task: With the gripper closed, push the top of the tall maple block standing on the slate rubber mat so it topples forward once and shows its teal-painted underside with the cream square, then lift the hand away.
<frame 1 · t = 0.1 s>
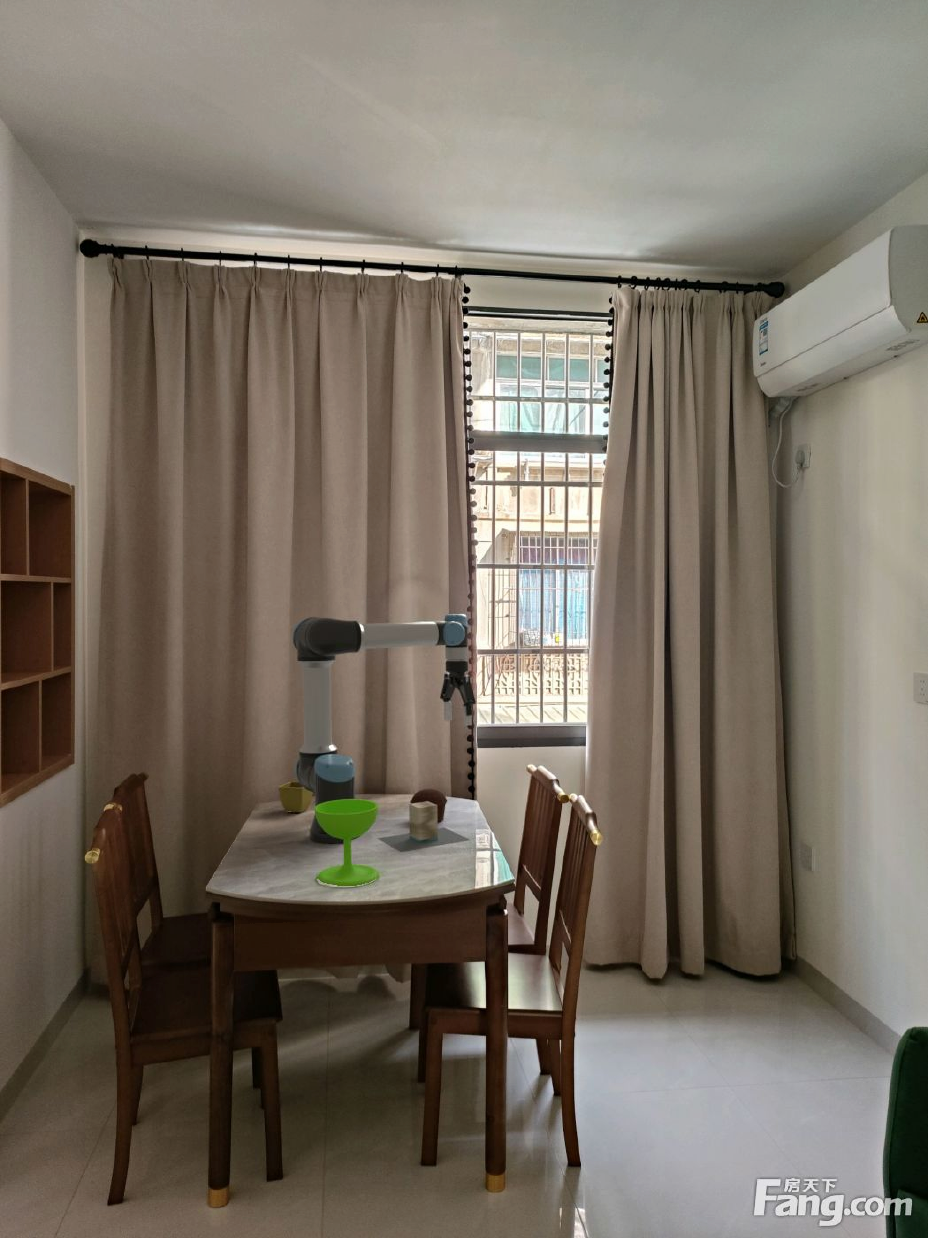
hand: (457, 723, 290), 28 cm above the table, tool pointing down, fingers open, 13 cm apart
maple block: (423, 839, 249), point 1 cm above the table, touching slate mat
flower pot: (296, 812, 286), on the table
muffin: (429, 822, 270), on the table
slate mat: (423, 840, 249), on the table
wineglass: (348, 878, 217), on the table
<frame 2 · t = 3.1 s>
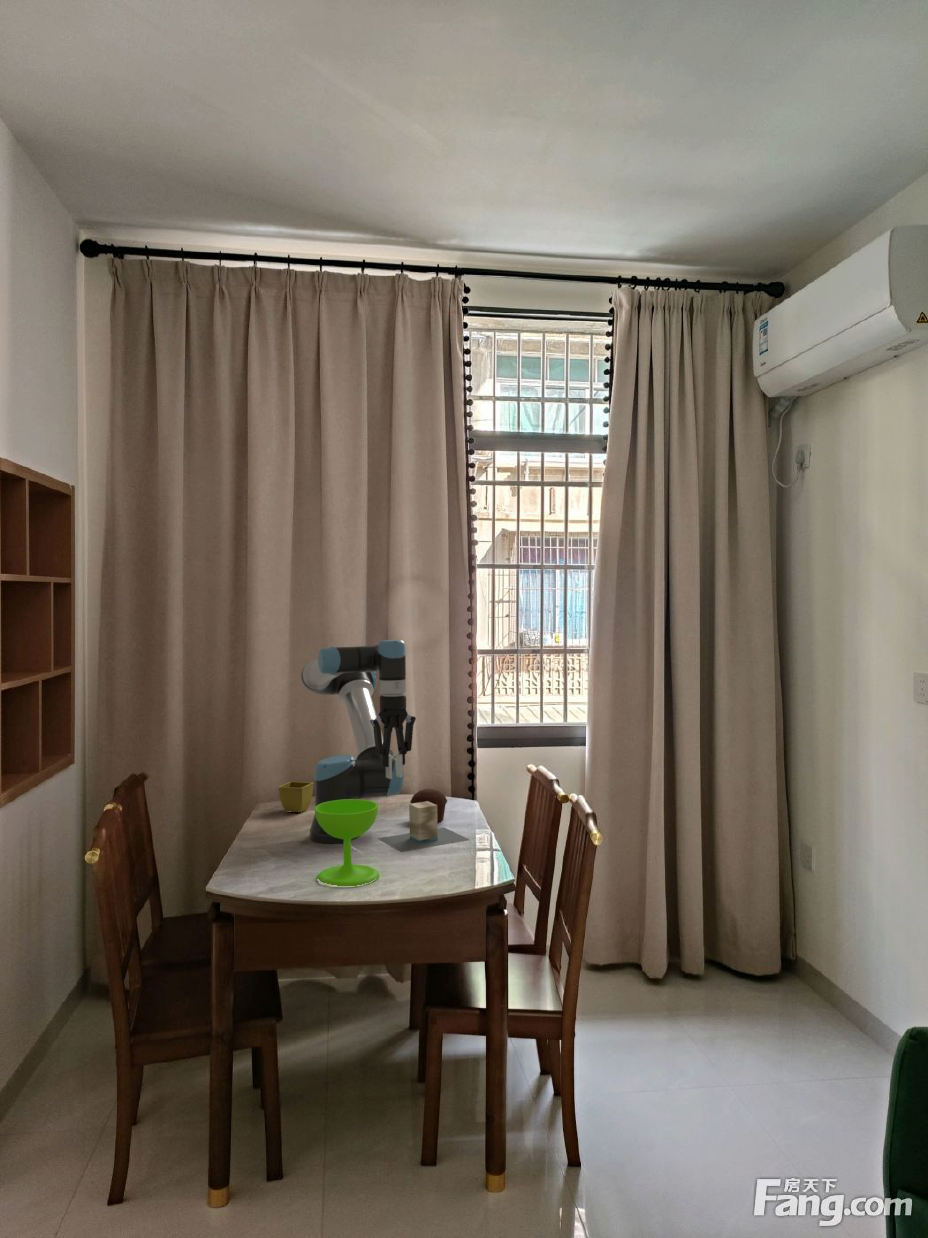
hand: (394, 777, 244), 20 cm above the table, tool pointing down, fingers open, 3 cm apart
nothing on the table moved.
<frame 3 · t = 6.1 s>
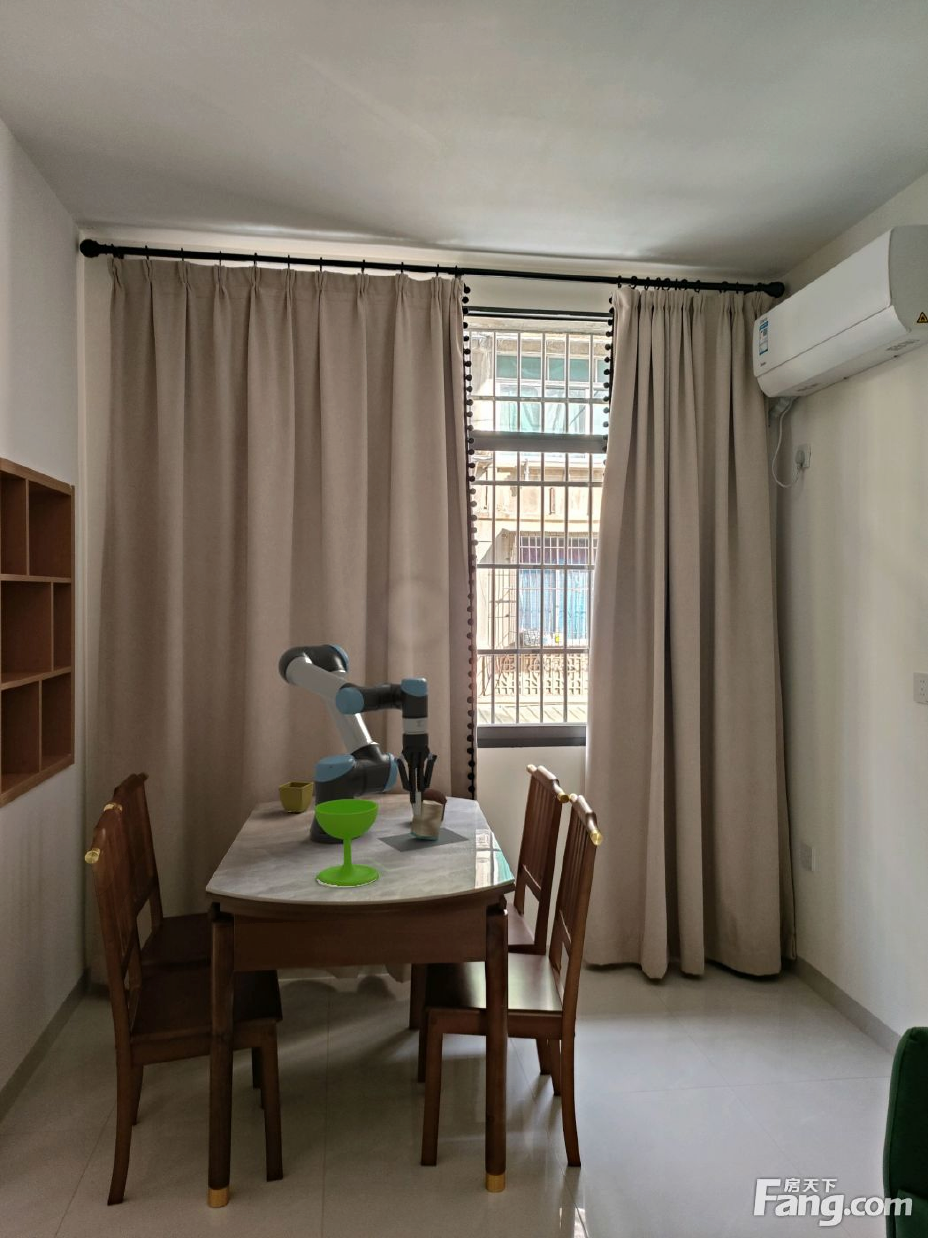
hand: (417, 814, 247), 8 cm above the table, tool pointing down, fingers closed
maple block: (423, 837, 249), point 1 cm above the table, tilted 12°, touching gripper, slate mat
everything else where it was.
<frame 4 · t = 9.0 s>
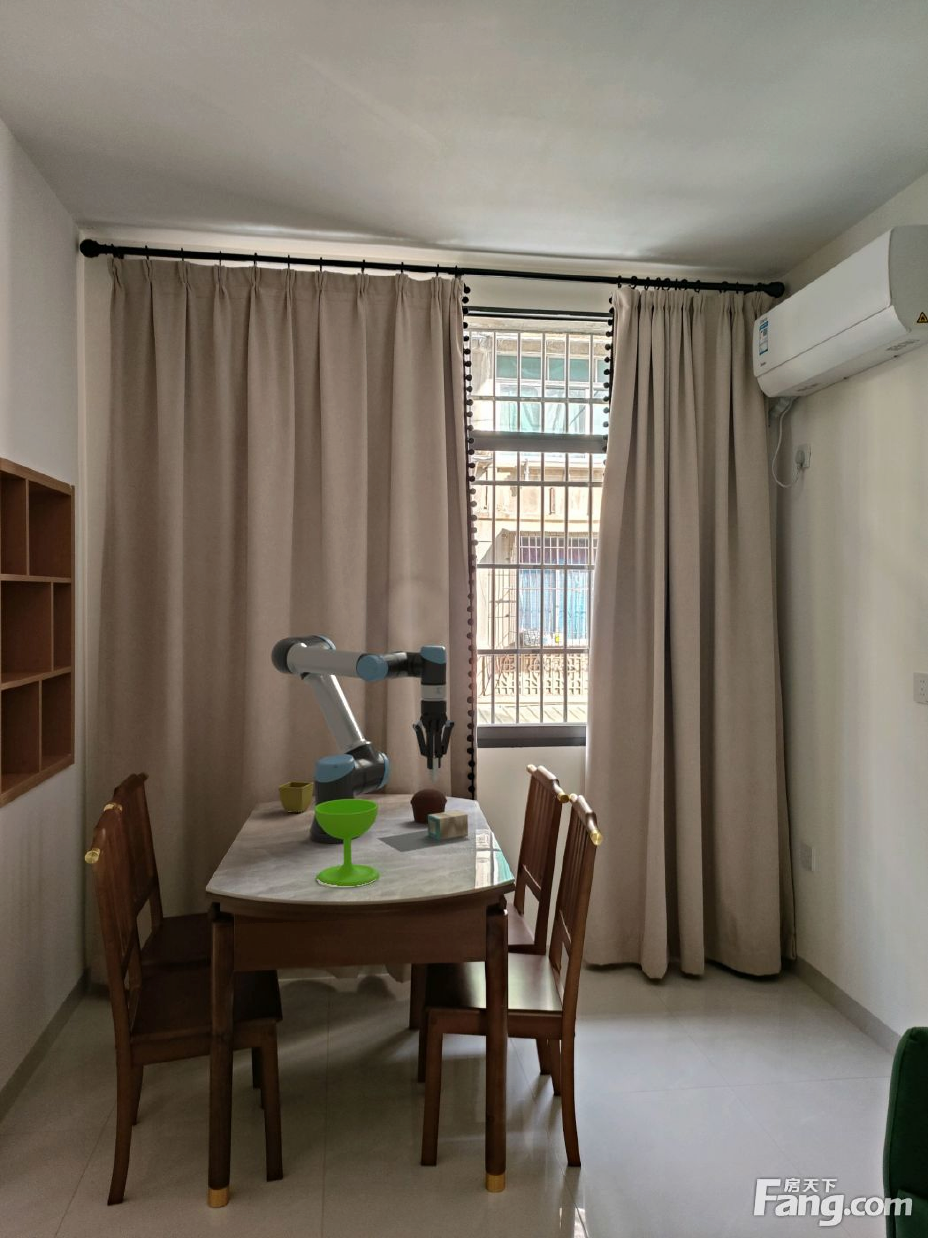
hand: (433, 779, 251), 17 cm above the table, tool pointing down, fingers closed
maple block: (432, 827, 250), point 3 cm above the table, tilted 90°, touching slate mat
everything else where it was.
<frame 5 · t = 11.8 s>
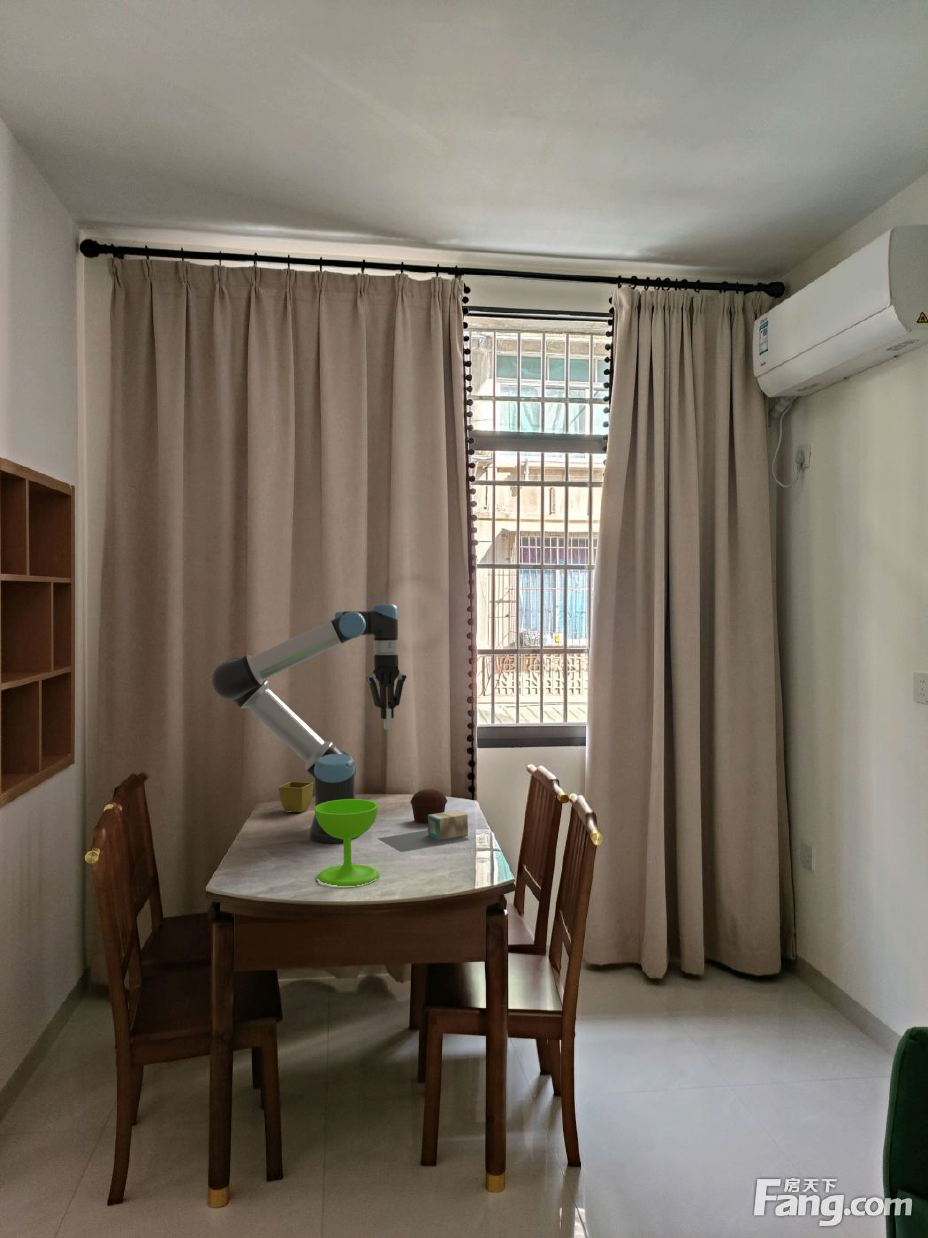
hand: (387, 729, 269), 29 cm above the table, tool pointing down, fingers closed
nothing on the table moved.
at the end: maple block tilted 90°; maple block inside the target area (2.5 cm from its centre), point 3.5 cm above the table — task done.
